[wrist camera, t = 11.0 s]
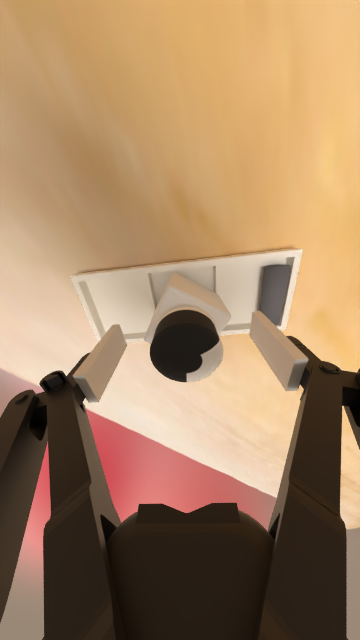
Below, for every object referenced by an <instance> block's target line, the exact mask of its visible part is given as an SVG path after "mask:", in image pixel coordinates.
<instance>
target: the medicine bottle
mask: <svg viewBox="0 0 360 640" xmlns="http://www.w3.org/2000/svg"><path fill="white" fill-rule="evenodd" d="M230 319H231V314H230V312H229V311H228V309H227V308H226V306H225V304H224V303H223V301H222V300H221V298H220V296H219V295H218V294H217V293H215V292H213V291H211V290H209V289H207V288H205V287H203V286H201V285H199V284H197V283H195V282H193V281H191V280H189V279H187V278H185V277H183V276H181V275H180V274H178V273H175V272H174V273H173V274H172V275H171V278H170V280H169V282H168V284H167V286H166V288H165V290H164V293H163V295H162V297H161V299H160V301H159V303H158V305H157V308H156V310H155V312H154V314H153V317H152V319H151V322H150V324H149V327H148V329H147V332H146V334H145V337H144V341H145V342H148V343H150V344H151V347H150V357H151V361H152V363H153V365H154V366H155V368H156V369H157V370H158V371H159V372H160V373H161V374H162V375H164V376H165V377H167V378H169V379H172V380H175V381H179V382H194V381H198V380H201V379H204V378H206V377H208V376H209V375H211V374H212V373H213V372H214V371H215V370H216V369H217V368H218V366H219V365H220V363H221V361H222V358H223V346H222V343H221V340H220V337H219V334H220V333H221V331H222V330H223V328H224V327H225V326H226V324H227V323H228V321H229V320H230Z"/></svg>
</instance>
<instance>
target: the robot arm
mask: <svg viewBox="0 0 360 640" xmlns="http://www.w3.org/2000/svg"><path fill="white" fill-rule="evenodd" d="M250 337H251V339H252V340H253V342H254V343H255V345H256V346H257V348H258V349H259V351H260V352H261V354H262V355H263V357H264V358H265V360H266V361H267V363H268V365H269V366H270V368H271V369H272V371H273V372H274V374H275V375H276V377H277V378H278V380H279V381H280V383H281V384H282V386H283V387H284V389H285V391H294V390H298V388H299V385H301V386H302V387H303V388H304V391H303V393H302V396H301V399H300V400H301V402H300V406H299V410H298V414H297V418H296V422H295V426H294V431H293V435H292V439H291V443H290V447H289V451H288V455H287V459H286V463H285V467H284V472H283V476H282V480H281V484H280V488H279V492H278V496H277V500H276V504H275V507H274V511H273V513H272V517H271V521H270V525H269V529H268V532H267V530H266V529H265V528H264V527H263V526H262V525H261V524H260V523H259V522H257V521H256V520H255V519H254V518H252V517H251V516H249V515H248V514H246V513H244V512H242V511H240V510H238V507H237V503H212V504H209V505H206V506H204V507H202V508H199V509H197V510H195V511H192V512H190V513H184V512H181V511H179V510H176V509H174V508H171V507H169V506H166V505H164V504H139V507H138V512H136V513H134V514H132V515H131V516H129V517H128V518H127V519H126V520H124V521H123V522H122V523H121V522H120V519H119V517H118V514H117V512H116V510H115V508H114V505H113V502H112V499H111V496H110V492H109V489H108V485H107V482H106V478H105V475H104V471H103V468H102V465H101V461H100V458H99V454H98V451H97V447H96V444H95V440H94V437H93V434H92V430H91V427H90V424H89V420H88V416H87V413H86V409H85V406H84V404H83V401H84V399H85V397H86V399H87V401H88V402H89V403H90V402H99V400H100V398H101V396H102V394H103V392H104V390H105V388H106V386H107V384H108V382H109V380H110V378H111V377H112V375H113V373H114V371H115V369H116V367H117V365H118V363H119V361H120V359H121V357H122V355H123V353H124V351H125V349H126V347H127V344H126V341H125V339H124V336H123V333H122V330H121V327H120V324H115V325H112V326H111V327H110V328H109V330H108V331H107V332H106V334H105V335H104V336H103V337H102V339H101V340H100V341H99V342H98V344H97V345H96V346H95V348H94V349H93V350H92V351H91V353H87V354H86V355H85V356H83V357H82V358H81V359H80V361H79V363H77V364H76V366H75V367H74V368H73V369H72V370H71V372H70V373H69V374H68V375H67V377H66V375H65V374H64V372H63V371H55V372H52V373H50V374H48V375H47V376H45V377H44V378H43V379H42V380H41V381H40V386H41V387H42V388H43V390H44V391H45V392H42V393H38V394H36V393H35V392H34V391H33V390H26V391H24V392H22V393H19V394H18V395H16V396H15V397H14V398H13V399H12V400H11V401H10V402H9V403H8V405H7V407H6V409H5V410H4V412H3V414H2V416H1V417H0V622H1V619H2V616H3V613H4V610H5V606H6V603H7V599H8V595H9V592H10V588H11V585H12V581H13V577H14V573H15V569H16V565H17V561H18V557H19V553H20V549H21V545H22V541H23V537H24V533H25V529H26V525H27V521H28V517H29V513H30V509H31V505H32V501H33V497H34V493H35V489H36V485H37V481H38V477H39V474H40V470H41V465H42V461H43V458H44V453H45V450H46V446H47V441H48V449H49V473H50V497H51V517H50V520H49V521H48V522H47V523H46V525H45V528H44V536H43V556H44V557H43V558H44V637H43V639H42V640H348V639H347V637H346V528H345V523H344V521H343V520H342V518H341V516H340V475H341V432H342V405H343V406H344V408H345V411H346V414H347V416H348V419H349V422H350V425H351V427H352V430H353V433H354V436H355V438H356V441H357V444H358V446H359V449H360V369H359V370H358V372H357V373H355V372H348V371H342V370H341V369H340V368H339V367H337V366H335V365H334V364H331V363H329V362H325V361H321V360H320V359H319V358H318V357H317V356H315V355H314V354H313V353H312V352H311V351H310V350H309V349H307V347H306V346H305V345H303V344H302V343H301V342H300V341H299V340H298V339H296V338H294V337H292V336H285V335H284V334H283V333H282V332H281V331H280V330H279V329H278V328H277V327H276V326H275V325H274V324H273V323H272V322H271V321H270V320H269V319H268V318H267V317H266V316H265V315H264V314H263V313H262V312H261V311H254V312H252V318H251V327H250Z"/></svg>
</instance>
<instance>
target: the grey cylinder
mask: <svg viewBox="0 0 360 640" xmlns="http://www.w3.org/2000/svg"><path fill="white" fill-rule="evenodd" d="M290 267H291V266H290V265H284V264H274V265H267V266H264V270H263V279H262V287H261V295H260V304H259V311H261V312H262V313H263V314H264V315H265V316H266V317H267V318H268V319H269V320H270V321H271V322H272V323H273V324H274V325H278V324H279V323H280V319H281V314H282V309H283V304H284V298H285V293H286V288H287V283H288V278H289V272H290Z"/></svg>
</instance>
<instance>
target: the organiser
mask: <svg viewBox="0 0 360 640" xmlns="http://www.w3.org/2000/svg"><path fill="white" fill-rule="evenodd" d="M302 252H303V249H298V248H288V249H280V250H271V251H263V252H254V253H246V254H237V255H229V256H220V257H212V258H204V259H195V260H187V261H178V262H170V263H161V264H153V265H145V266H136V267H128V268H119V269H111V270H102V271H94V272H86V273H79V274H76V275H73V276H70V277H71V280H72V282H73V284H74V287H75V289H76V292H77V294H78V296H79V299H80V301H81V303H82V306H83V308H84V311H85V313H86V315H87V318H88V320H89V322H90V325H91V327H92V330H93V332H94V334H95V337H96V339H97V341H98V342H99V341H100V340H101V339H102V337H103V336H104V335H105V334H106V332H107V331H108V330H109V328H110V327H111V326H112V325H115V324H120V327H121V330H122V333H123V336H124V339H125V341H126V344H127V343H138V342H145V341H144V337H145V334H146V332H147V329H148V327H149V324H150V322H151V319H152V317H153V314H154V312H155V310H156V308H157V305H158V303H159V301H160V299H161V297H162V295H163V293H164V290H165V288H166V286H167V284H168V282H169V280H170V278H171V275H172V274H173V273H174V272H175V273H178V274H180V275H181V276H183V277H185V278H187V279H189V280H191V281H193V282H195V283H197V284H199V285H201V286H203V287H205V288H207V289H209V290H211V291H213V292H215V293H217V294H218V295H219V296H220V298H221V300H222V301H223V303H224V304H225V306H226V308H227V309H228V311H229V312H230V314H231V319H230V320H229V321H228V323H227V324H226V326H225V327H224V328H223V330H222V331H221V333H220V334H219V336H221V335H233V334H245V333H250V327H251V318H252V312H254V311H259V304H260V295H261V287H262V279H263V270H264V266H267V265H274V264H284V265H290V266H291V267H290V272H289V278H288V283H287V288H286V293H285V298H284V304H283V309H282V314H281V319H280V323H279V324H278V325H275V326H276V327H277V328H278V329H279V330H286V326H287V321H288V316H289V312H290V307H291V302H292V298H293V293H294V289H295V284H296V279H297V275H298V270H299V265H300V261H301V256H302Z"/></svg>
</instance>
